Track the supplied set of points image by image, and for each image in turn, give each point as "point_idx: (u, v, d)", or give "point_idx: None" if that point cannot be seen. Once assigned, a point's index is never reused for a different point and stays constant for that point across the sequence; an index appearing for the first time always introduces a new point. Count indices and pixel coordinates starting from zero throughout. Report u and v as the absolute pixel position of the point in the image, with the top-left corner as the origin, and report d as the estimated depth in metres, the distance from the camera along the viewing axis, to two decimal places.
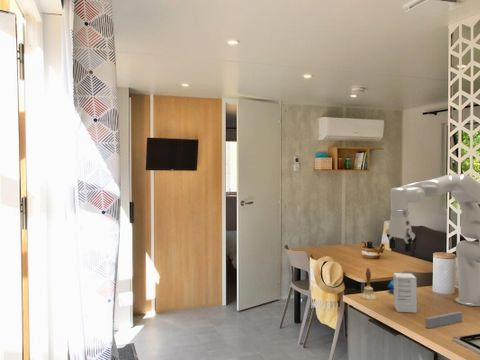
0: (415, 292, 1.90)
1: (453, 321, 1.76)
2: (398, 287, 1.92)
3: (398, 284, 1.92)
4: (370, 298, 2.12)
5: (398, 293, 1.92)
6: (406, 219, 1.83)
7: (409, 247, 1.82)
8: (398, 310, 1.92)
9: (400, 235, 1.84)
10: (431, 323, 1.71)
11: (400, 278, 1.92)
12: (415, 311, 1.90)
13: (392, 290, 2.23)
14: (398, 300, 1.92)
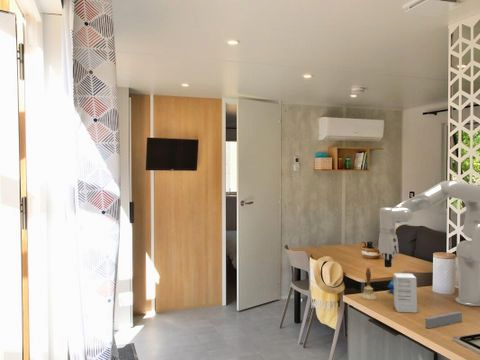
0: (415, 292, 1.90)
1: (453, 321, 1.76)
2: (398, 287, 1.92)
3: (398, 284, 1.92)
4: (370, 298, 2.12)
5: (398, 293, 1.92)
6: (393, 237, 2.01)
7: (390, 263, 2.04)
8: (398, 310, 1.92)
9: (388, 251, 2.02)
10: (431, 323, 1.71)
11: (400, 278, 1.92)
12: (415, 311, 1.90)
13: (392, 290, 2.23)
14: (398, 300, 1.92)
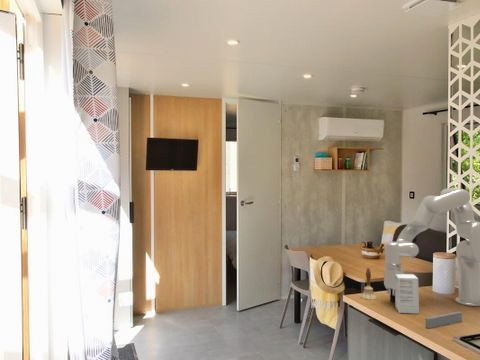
0: (417, 293, 1.89)
1: (453, 321, 1.76)
2: (400, 288, 1.90)
3: (400, 285, 1.90)
4: (370, 298, 2.12)
5: (400, 294, 1.90)
6: (399, 272, 1.98)
7: None
8: (400, 311, 1.90)
9: (393, 287, 1.99)
10: (431, 323, 1.71)
11: (402, 279, 1.90)
12: (417, 312, 1.89)
13: None
14: (400, 301, 1.90)
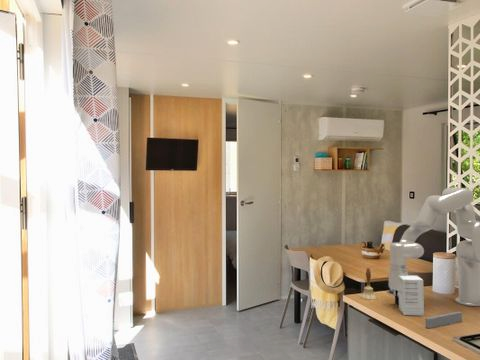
0: (422, 294, 1.86)
1: (453, 321, 1.76)
2: (405, 290, 1.87)
3: (405, 287, 1.87)
4: (370, 298, 2.12)
5: (405, 296, 1.87)
6: (404, 274, 1.95)
7: None
8: (405, 313, 1.87)
9: (398, 288, 1.96)
10: (431, 323, 1.71)
11: (407, 280, 1.87)
12: (422, 314, 1.86)
13: None
14: (405, 303, 1.87)
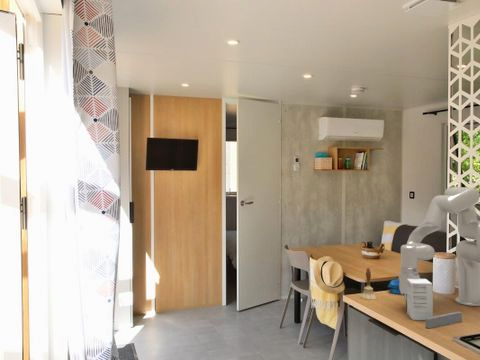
0: (431, 299, 1.79)
1: (453, 321, 1.76)
2: (413, 294, 1.80)
3: (413, 290, 1.81)
4: (370, 298, 2.12)
5: (413, 300, 1.80)
6: (416, 277, 1.88)
7: None
8: (413, 318, 1.80)
9: None
10: (431, 323, 1.71)
11: (415, 284, 1.80)
12: None
13: (392, 290, 2.23)
14: (413, 307, 1.80)
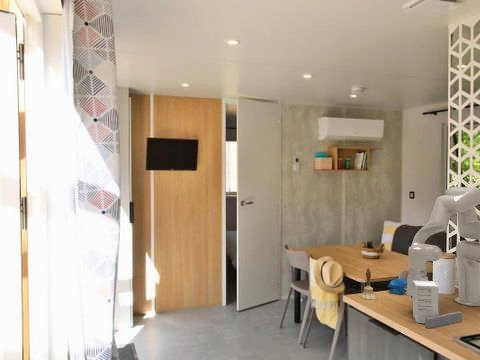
0: (436, 302, 1.74)
1: (453, 321, 1.76)
2: (418, 296, 1.76)
3: (418, 293, 1.76)
4: (370, 298, 2.12)
5: (417, 303, 1.76)
6: (424, 279, 1.83)
7: None
8: (417, 321, 1.77)
9: None
10: (431, 323, 1.71)
11: (420, 286, 1.76)
12: None
13: (392, 290, 2.23)
14: (417, 310, 1.76)
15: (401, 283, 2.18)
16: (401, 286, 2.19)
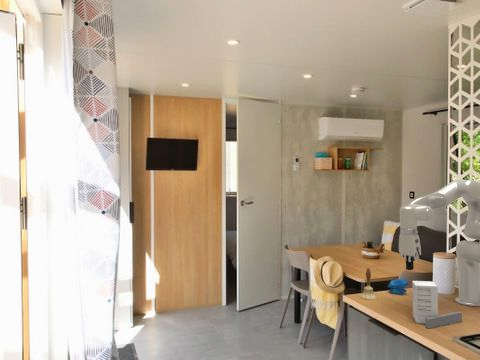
0: (436, 302, 1.75)
1: (453, 321, 1.76)
2: (417, 296, 1.77)
3: (417, 293, 1.77)
4: (370, 298, 2.12)
5: (417, 303, 1.77)
6: (415, 237, 1.88)
7: (412, 265, 1.91)
8: (417, 321, 1.77)
9: (409, 253, 1.89)
10: (431, 323, 1.71)
11: (419, 286, 1.76)
12: None
13: (392, 290, 2.23)
14: (417, 310, 1.77)
15: (401, 283, 2.18)
16: (401, 286, 2.19)
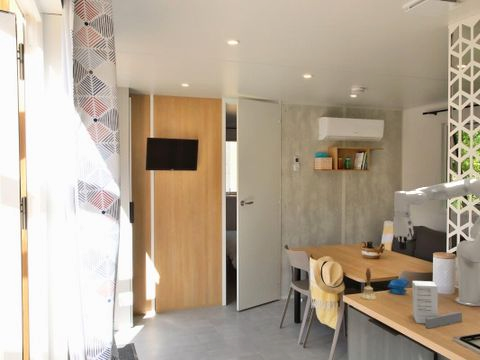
0: (436, 302, 1.75)
1: (453, 321, 1.76)
2: (417, 296, 1.77)
3: (417, 293, 1.77)
4: (370, 298, 2.12)
5: (417, 303, 1.77)
6: (408, 219, 2.04)
7: (404, 246, 2.07)
8: (417, 321, 1.77)
9: (403, 233, 2.05)
10: (431, 323, 1.71)
11: (419, 286, 1.76)
12: None
13: (392, 290, 2.23)
14: (417, 310, 1.77)
15: (401, 283, 2.18)
16: (401, 286, 2.19)
